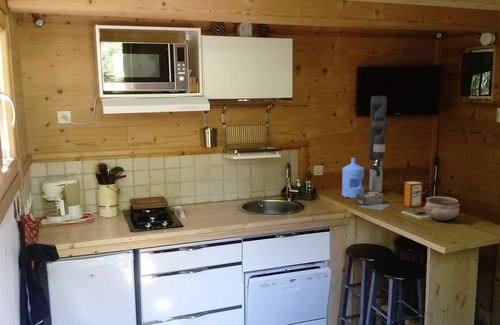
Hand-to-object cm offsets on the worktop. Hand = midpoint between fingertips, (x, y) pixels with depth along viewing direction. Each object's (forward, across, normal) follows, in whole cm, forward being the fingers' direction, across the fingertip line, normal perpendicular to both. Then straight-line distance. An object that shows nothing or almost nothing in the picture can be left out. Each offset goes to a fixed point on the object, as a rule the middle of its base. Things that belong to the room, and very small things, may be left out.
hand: (378, 176), depth 314 cm
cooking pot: (+19, +18, +45) cm, 52 cm away
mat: (+19, +7, 0) cm, 20 cm away
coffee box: (+16, -7, -2) cm, 17 cm away
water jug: (+20, -15, -24) cm, 34 cm away
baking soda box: (+19, -8, +21) cm, 30 cm away
